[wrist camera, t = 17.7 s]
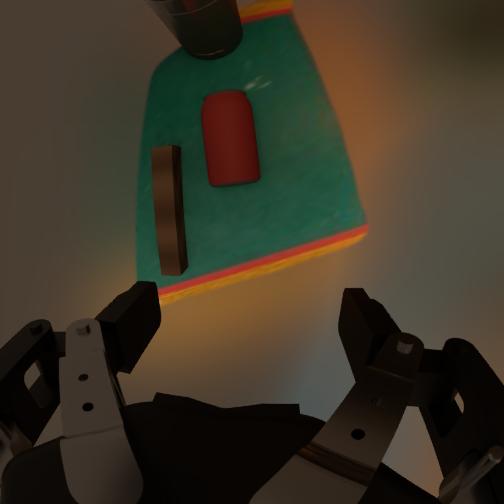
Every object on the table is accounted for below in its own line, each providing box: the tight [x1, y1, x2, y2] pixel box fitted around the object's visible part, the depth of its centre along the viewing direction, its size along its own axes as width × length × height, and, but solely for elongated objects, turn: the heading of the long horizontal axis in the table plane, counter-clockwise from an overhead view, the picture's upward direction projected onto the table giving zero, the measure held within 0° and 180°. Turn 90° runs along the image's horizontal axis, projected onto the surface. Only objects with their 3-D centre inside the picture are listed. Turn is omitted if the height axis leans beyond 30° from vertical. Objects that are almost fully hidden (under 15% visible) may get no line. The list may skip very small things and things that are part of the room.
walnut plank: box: [151, 145, 188, 276], centre depth 37 cm, size 18×3×4 cm, turn 1°
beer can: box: [201, 89, 261, 187], centre depth 32 cm, size 7×7×12 cm
